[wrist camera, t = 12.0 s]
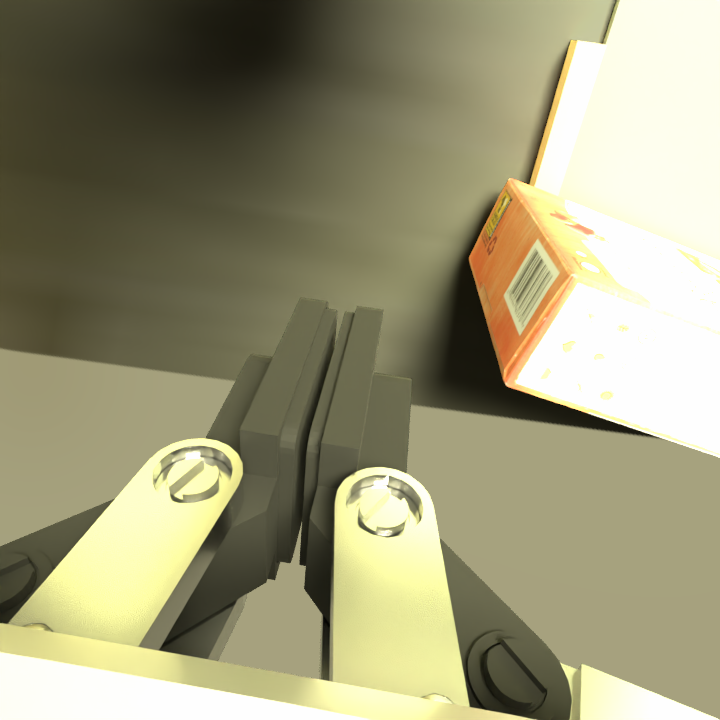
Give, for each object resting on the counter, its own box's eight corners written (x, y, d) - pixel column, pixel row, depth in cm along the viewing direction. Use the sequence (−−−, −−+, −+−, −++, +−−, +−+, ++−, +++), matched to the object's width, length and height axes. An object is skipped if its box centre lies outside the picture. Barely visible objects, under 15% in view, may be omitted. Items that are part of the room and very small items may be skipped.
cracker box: (509, 168, 30) (802, 288, 34) (462, 259, 34) (733, 361, 37) (582, 264, 19) (1021, 435, 22) (500, 389, 22) (893, 523, 25)
